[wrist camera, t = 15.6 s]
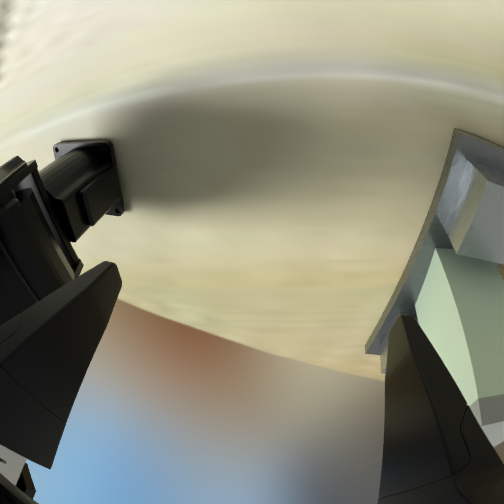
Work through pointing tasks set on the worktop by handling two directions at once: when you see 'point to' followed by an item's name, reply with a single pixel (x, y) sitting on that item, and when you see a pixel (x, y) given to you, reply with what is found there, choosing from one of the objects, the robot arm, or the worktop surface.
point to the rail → (433, 230)
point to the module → (468, 331)
